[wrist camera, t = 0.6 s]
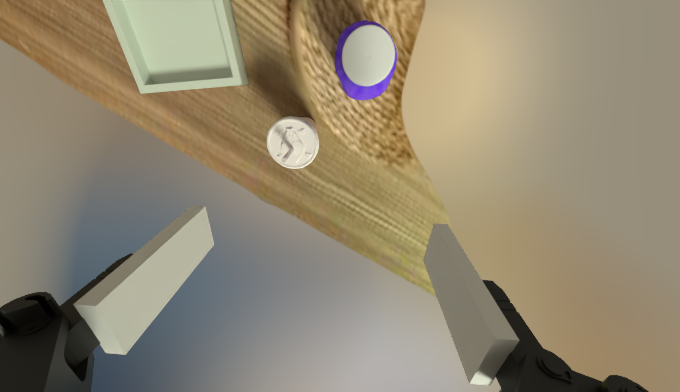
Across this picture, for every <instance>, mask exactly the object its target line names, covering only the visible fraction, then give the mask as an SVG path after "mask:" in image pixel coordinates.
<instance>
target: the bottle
mask: <svg viewBox="0 0 680 392" xmlns="http://www.w3.org/2000/svg"><path fill="white" fill-rule="evenodd" d="M396 61H397V52H396V47H395V44H394V42H393V39H392V37H391V36H390V34H389V33H388V31H387V30H386V29H385V28H384V27H382V26H381V25H380V24H378V23H376V22H369V21H366V20H364V21H359V22H355V23H353V24H352V25H350V26H349V27H347V28H345V29H344V30H343V32H342V33H341V34H340V36H339V39H338V42H337V48H336V54H335V68H336V72H337V75H338V77H339V79H340V83H341V85H342V88H343V90H344V91H345V93H346V94H347V95H348V96H349V97H351V98H353V99H356V100H368V99H372V98H374V97H377V96H379V95H380V94H382V93H383V92H384V91H385V90H386V88H387V86H388V84H389V82H390V80H391V78H392V76H393V73H394V70H395V67H396Z"/></svg>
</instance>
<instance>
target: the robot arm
mask: <svg viewBox="0 0 680 392" xmlns="http://www.w3.org/2000/svg"><path fill="white" fill-rule="evenodd" d="M213 245H214V242H213V237H212V233H211V229H210V225H209V220H208V216H207V211H206V207H203V206H191V207H190V208H189V209H188V210H187V211H185V212H184V213H183V214H182V215H180V216H179V217H178V218H177V219H176V220H174V221H173V222H172V223H171V224H170V225H168V226H167V227H166V228H165V229H163V230H162V231H161V232H160V233H159V234H157V235H156V236H155V237H154V238H153V239H152V240H150V241H149V242H148V243H147V244H145V245H144V246H143V247H142V248H141V249H140V250H138V251H137V252H136V253H135V254H129V255H127V256H125V257H123V258H121V259H119V260H117V261H116V262H115V263H114V264H112V265H111V266H110V267H108V268H107V269H106V271H105V272H102V273H101V274H100V275H98V276H97V277H96V279H93V280H92V281H91V282H90V283H88V284H87V285H86V286H85V287H84V288H82V289H81V290H80V291H78V292H77V293H76V294H75V295H73V296H72V297H71V298H70V299H69V300H67V301H66V302H65V303H64V304H62V305H61V306H59V305H58V304H57V303H56V301H55V300H54V298H53V297H52V296H51V294H49V293H47V292H37V293H32V294H28V295H25V296H22V297H20V298H17V299H15V300H13V301H11V302H9V303H7V304H5V305H3V306H2V307H1V308H0V392H91V386H92V376H93V368H94V354H93V353H92V351H93V350H94V349H95V348H96V347H97V346H98V345H99V344H100V345H101V346H102V348H103V349H104V351H105V352H106V353H112V354H124V355H126V353H127V352H128V351H129V350H130V348H131V347H132V346H133V345H134V343H135V342H136V341H137V339H138V338H139V337H140V336H141V335H142V334H143V332H144V331H145V330H146V329H147V327H148V326H149V325H150V324H151V322H152V321H153V320H154V319H155V317H156V316H157V315H158V314H159V312H160V311H161V310H162V309H163V307H164V306H165V305H166V304H167V302H168V301H169V300H170V299H171V298H172V296H173V295H174V294H175V293H176V291H177V290H178V289H179V288H180V286H181V285H182V284H183V283H184V281H185V280H186V279H187V278H188V276H189V275H190V274H191V273H192V271H193V270H194V269H195V268H196V266H197V265H198V264H199V263H200V261H201V260H202V259H203V258H204V257H205V255H206V254H207V253H208V252H209V250H210V249H211V248H212V247H213ZM423 261H424V264H425V266H426V269H427V272H428V274H429V277H430V280H431V282H432V285H433V288H434V290H435V293H436V296H437V298H438V301H439V303H440V306H441V309H442V311H443V314H444V317H445V320H446V322H447V325H448V328H449V330H450V333H451V336H452V338H453V341H454V343H455V346H456V349H457V352H458V354H459V357H460V360H461V362H462V365H463V368H464V370H465V373H466V376H467V378H468V381H469V383H470V384H480V385H491V383H492V381H493V380H494V378H495V377H496V378H497V380H498V382H499V384H500V386H501V390H500V391H499V392H648V391H647V390H646V389H644V388H643V387H641V386H640V385H639V384H637V383H635V382H633V381H631V380H629V379H628V378H625V377H622V376H618V375H610V376H608V377H607V378H606V379H605V380H604V381H603V382H602V381H599V380H596V379H594V378H591V377H588V376H585V375H583V374H580V373H577V372H575V371H573V370H571V368H570V367H569V366H568V365H567V364H566V363H565V362H564V361H563V360H562V359H561V358H559V357H558V356H556V355H555V354H554V353H552V352H550V351H547V350H545V349H543V348H542V346H541V345H540V344H539V342H538V341H537V339H536V338H535V336H534V335H533V333H532V332H531V330H530V329H529V327H528V326H527V325H526V323H525V322H524V320H523V319H522V317H521V316H520V314H519V313H518V312H516V309H515V307H514V306H513V304H512V303H510V300H509V299H508V297H507V296H506V294H505V293H504V291H503V290H502V289H501V288H500V287H498V286H497V285H496V284H495V283H494V282H493V281H488V280H482V279H481V278H480V276H479V275H478V273H477V271H476V270H475V268H474V267H473V265H472V263H471V262H470V260H469V258H468V257H467V255H466V254H465V252H464V250H463V249H462V247H461V246H460V244H459V242H458V241H457V239H456V238H455V236H454V234H453V233H452V231H451V229H450V228H449V226H448V225H447V224H435V223H434V224H433V228H432V232H431V235H430V239H429V242H428V246H427V249H426V253H425V256H424V260H423Z"/></svg>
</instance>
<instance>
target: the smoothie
mask: <svg viewBox="0 0 680 392" xmlns="http://www.w3.org/2000/svg"><path fill="white" fill-rule="evenodd" d="M267 147H268V150H269V153H270V154H271V156H272V157H273V159H274V160H275V161H276V162H277V163H279V164H280V165H282V166H284V167H287V168H291V169H299V168H303V167H305V166H307V165H308V164H310V163H311V162H312V161H313V159H314V158H315V156H316V155H317V152H318V149H319V140H318V135H317V125H316V123H315V122H314V121H313V120H312V119H311V118H308V117H301V118H299V117H293V116H288V117H284V118H281V119H279V120H278V121H276V122H275V123H274V124H273V125H272V127H271V128H270V130H269V132H268V135H267Z"/></svg>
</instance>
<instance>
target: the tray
mask: <svg viewBox="0 0 680 392" xmlns="http://www.w3.org/2000/svg"><path fill="white" fill-rule="evenodd" d="M103 2H104V5H105V7H106V10H107V12H108V15H109V17H110V20H111V22H112V24H113V27H114V29H115V32H116V34H117V37H118V39H119V42H120V44H121V46H122V49H123V51H124V54H125V56H126V59H127V61H128V64H129V66H130V68H131V71H132V73H133V76H134V78H135V81H136V83H137V85H138V88H139V90H140V93H141V94H142V93H154V92H166V91H177V90H189V89H201V88H212V87H224V86H236V85H247V84H249V82H248V77H247V73H246V68H245V64H244V59H243V55H242V50H241V46H240V41H239V37H238V32H237V28H236V23H235V19H234V14H233V10H232V5H231V1H230V0H103Z"/></svg>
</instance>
